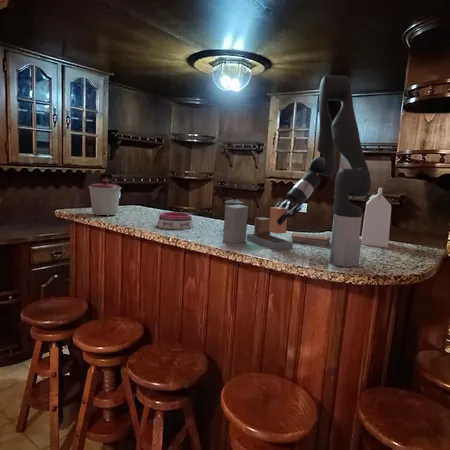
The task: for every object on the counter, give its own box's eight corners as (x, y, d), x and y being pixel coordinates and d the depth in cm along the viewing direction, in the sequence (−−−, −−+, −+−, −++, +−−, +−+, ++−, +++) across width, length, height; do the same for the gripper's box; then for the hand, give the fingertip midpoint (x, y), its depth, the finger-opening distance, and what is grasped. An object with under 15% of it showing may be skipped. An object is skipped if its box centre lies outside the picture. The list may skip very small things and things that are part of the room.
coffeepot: (241, 235, 177) (244, 197, 174) (221, 234, 177) (223, 196, 174) (242, 229, 192) (244, 195, 189) (224, 228, 192) (226, 193, 190)
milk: (388, 247, 167) (395, 189, 163) (360, 244, 171) (367, 187, 167) (386, 242, 178) (393, 188, 174) (361, 240, 182) (367, 186, 178)
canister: (102, 218, 204) (102, 179, 201) (81, 214, 214) (81, 177, 210) (127, 215, 219) (128, 179, 216) (107, 212, 229) (107, 177, 225)
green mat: (267, 249, 148) (267, 248, 148) (250, 251, 144) (250, 249, 144) (254, 244, 156) (254, 243, 156) (237, 245, 153) (237, 244, 153)
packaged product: (331, 235, 164) (329, 239, 155) (330, 246, 165) (328, 250, 156) (291, 230, 171) (286, 234, 161) (290, 241, 171) (286, 244, 162)
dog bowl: (196, 230, 185) (196, 216, 183) (158, 230, 180) (158, 215, 179) (190, 224, 202) (190, 211, 201) (155, 223, 197) (155, 211, 196)
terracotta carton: (286, 233, 151) (287, 208, 150) (276, 233, 149) (277, 208, 147) (278, 231, 155) (280, 207, 154) (268, 231, 153) (270, 207, 152)
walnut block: (269, 242, 161) (271, 219, 160) (259, 242, 159) (261, 219, 157) (262, 239, 166) (264, 217, 164) (253, 240, 163) (255, 217, 162)
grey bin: (292, 249, 151) (292, 242, 151) (273, 250, 147) (274, 243, 146) (264, 239, 169) (264, 233, 168) (246, 240, 164) (247, 234, 164)
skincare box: (235, 239, 165) (237, 204, 162) (247, 242, 160) (249, 206, 157) (221, 241, 159) (223, 204, 156) (233, 244, 154) (235, 206, 151)
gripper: (284, 185, 159) (259, 213, 155) (306, 187, 147) (280, 218, 143) (293, 198, 162) (269, 226, 158) (316, 201, 150) (290, 231, 146)
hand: (274, 222), depth 151 cm, fingers closed on terracotta carton, 5 cm apart
